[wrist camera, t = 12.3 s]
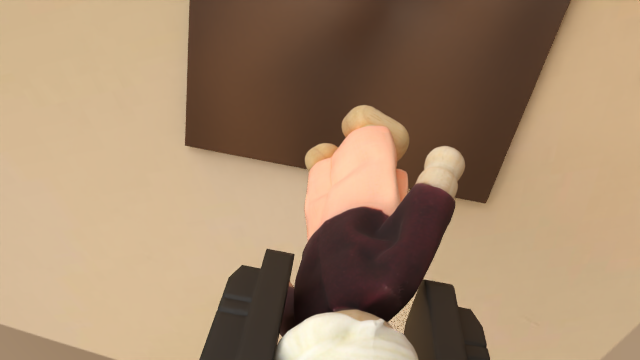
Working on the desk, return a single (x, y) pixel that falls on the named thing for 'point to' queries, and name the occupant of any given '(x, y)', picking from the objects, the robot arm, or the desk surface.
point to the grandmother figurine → (365, 242)
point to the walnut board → (366, 76)
